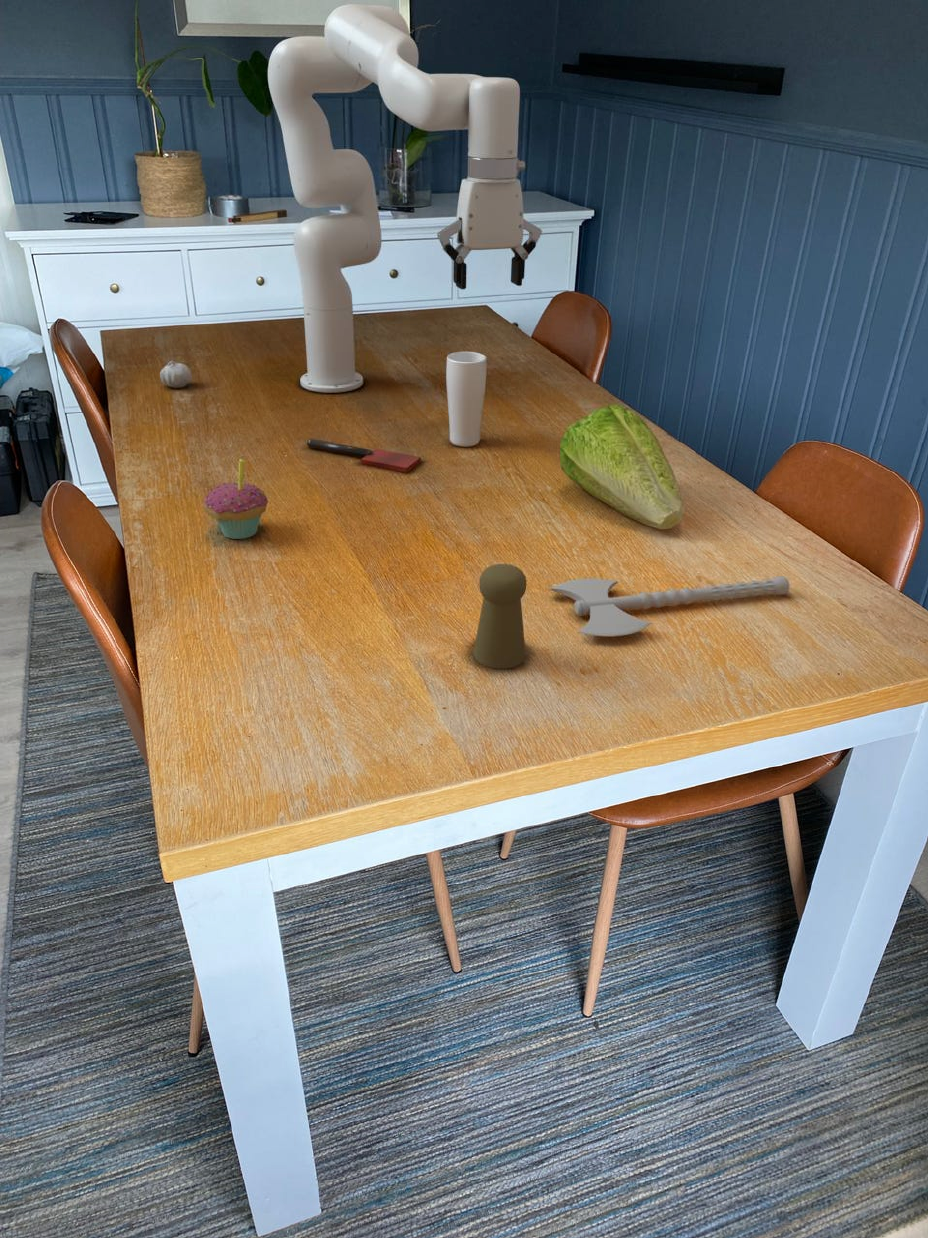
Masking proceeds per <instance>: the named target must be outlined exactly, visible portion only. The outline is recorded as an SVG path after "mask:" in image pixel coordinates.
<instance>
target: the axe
mask: <svg viewBox="0 0 928 1238" xmlns="http://www.w3.org/2000/svg"><path fill="white" fill-rule="evenodd" d="M617 584H619V581H616V580H611V579H606V578H595V577H594V578H591V577H590V578H589V577H588V578H577V579H572V580H571V579H570V580H567V581H563V582H560V583H558V584H556V585H554V586H553V587H551V588H549V590H550V591H552V592H555V593H558V594H561V595H563V596H566V597H568V598H570V599H572V600H574V601H575V602H574V605H573V610H574V611H573V612H574V613H575V615H576V616H577V617H581V616H582V617H584V616H585V615H588V616H589V620H588V622H587V623H586V624H585V625H584V626H583V627H582V628H581V629H580V630H579V631H578V633H579V634H584V635H589V636H595V637H621V636H622V637H623V636H629V635H632V634H635V633H639V632H641V631H643V630H645V629H647V628H648V627H649V626H650V625H651V624H652V623H651V622H648V621H646V620H644V619H641V618H638V617H636V616H633V615H630V614H629V613H627V612H625V611H627V610H628V611H629V610H636V609H637V610H638V609H640V610H648V609H650V608H656V609H660V608H663V607H665V606H669V607H675V606H677V605H681V604H682V605H684V606H685V605H690V604H692V603H697V602H705V601H707V602H708V601H710V602H716V601H718V600H724V601H725V600H731V599H732V598H733V599H735V598H737V599H742V598H745V597H757V596H759V595H760V596H761V595H764V596H768V595H774V596H784V595H786V594H788V593H789V590H790V582H789V579H788V578H787V577H786V576H784V575H780V576H779V575H778V576H774V577H772V578H770V579H763V580H759V581H758V580H751V581H749V582H743V581H739V582H736V583H733V584H732V583H724V584H722V585H716V584H714V585H713V584H712V585H709V586H705V587H696V588H689V587H683V588H681V589H679V590H678V589H674V588H673V589H667V590H666V591H661V590H655V591H653V592H649V593H648V592H639V594H633V595H624V596H615V597H609V593H610V591H611V590H612V589H613V587H615V586H616V585H617Z"/></svg>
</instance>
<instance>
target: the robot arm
mask: <svg viewBox="0 0 928 1238" xmlns="http://www.w3.org/2000/svg"><path fill="white" fill-rule="evenodd" d="M323 28H324V29H323V34H324V36H319V35H316V36H315V35H313V36H312V35H308V36H307V35H303V36H301V35H300V36H294V37H289V38H286V39H283V40H282V41H280V42H279V43H277V44H276V46H275V47H274V48H273V50H272V52H271V54H270V57H269V60H268V66H267V83H268V88H269V93H270V97H271V101H272V103H273V106H274V109H275V111H276V114H277V117H278V121H279V125H280V128H281V132H282V138H283V145H284V150H285V155H286V156H285V157H286V162H287V168H288V172H289V179H290V183H291V184H290V185H291V187H292V193H293V196H294V199H295V200H296V202H297V203H298V204H299V205H300V206H302V207H304V208H307V209H321V208H331V207H340V210H341V213H333V214H324V215H316V216H313V217H309V218H307V219H305V220H303V221H302V222H300V223H299V224H298V225H297V226H296V228H295V230H294V232H293V233H294V234H293V237H292V239H293V240H292V241H293V242H292V243H293V244H292V245H293V250H294V255H295V258H296V259H295V260H296V263H297V267H298V271H299V277H300V284H301V296H302V306H303V307H302V308H303V322H304V336H305V337H304V338H305V339H304V340H305V353H306V354H305V355H306V369H307V373H305V374H303V375H302V376H300V380H299V383H300V384H299V385H300V386H301V388H303V389H306V390H307V391H312V392H316V393H324V394H335V393H337V394H338V393H346V392H350V391H353V390H354V391H355V390H356V389H359V388H360V387H361V386H362V385H364V377H363V375H361V374H360V373H359V372H356V361H355V360H356V359H355V358H356V357H355V334H354V331H355V330H354V309H353V307H354V306H353V305H354V304H353V294H352V290H351V287H350V285H349V283H348V281H347V279H346V278H345V276H344V274H343V272H342V270H343V269H345V268H351V267H356V266H362V265H367V264H370V263H372V262H374V261H375V260H376V259H377V258H378V256H379V254H380V252H381V249H382V240H383V239H382V228H381V221H380V214H379V206H378V198H377V193H376V192H377V191H376V184H375V180H374V175H373V172H372V169H371V166H370V164H369V162H368V161H367V159H366V157H365V156H364V155H362V154H361V153H360V152H359V151H357V150H354V149H351V148H342V149H341V148H338V149H335V148H334V146H333V143H332V137H331V130H330V124H329V121H328V118H327V117H326V115H325V113H324V111H323V109H322V108H321V106H320V105H319V103H318V102H317V101H316V100H315V99H314V98H313V95H314V94H342V93H343V94H345V93H347V94H348V93H349V94H350V93H356V92H358V91H361V90H363V89H365V88H367V87H369V85H371V84H372V83H374V84H375V85H377V86H378V90H379V94H380V97H381V98H382V101H383V102H384V105H385V107H386V108H387V109H388V110H389V112H392V113H393V114H394V115H396V116H397V117H398V118H400V119H402V121H405V122H406V123H408V124H409V125H410V126H413V127H415V128H417V129H418V130H422V131H427V132H439V131H440V132H441V131H460V130H462V131H464V130H468V131H467V178H463V179H461V183H460V189H459V193H458V200H457V209H456V221H454V222H452V223H451V224H449V225H448V226H446V227H444V228H443V229H441V230H440V231H438V232H437V234H436V237H437V239H438V241H439V243H440V245H441V247H442V250H443V251H444V252H445V253H446V254H447V256H448V257H449V258H450V260H452V264H453V265H452V266H453V267H452V268H453V270H452V272H453V273H452V280H453V283H454V284H455V287H457V288H458V289H460V290H466V289H467V271H468V270H467V268H468V267H467V263H465V260H466V258H467V257H468V256H469V254H470V252H471V251H487V250H506V249H508V250H509V249H510V250H511V252H512V253H513V254H514V256H512V257H511V263H510V264H511V265H510V282H511V283H512V284H514V285H515V286H517V287H521V286H523V280H524V279H525V269H526V267H525V266H526V260H527V259H529V255H531V253H532V252H533V251H534V250H535V248H536V247H537V243H538V242H539V240H540V237H541V235H542V234H543V230H542V228H539V226H537V225H535V224H533V223H531V222H529V221H527V220H526V219H524V201H523V193H522V192H523V191H522V185H521V180H520V179H518V178H517V177H518V176H519V173H520V172H523V171H525V169H526V162H525V161H524V160H520V159H519V157H518V149H519V148H518V147H519V124H520V122H519V121H520V101H521V90H520V89H521V87H520V85H519V83H518V81H517V80H516V79H514V78H511V77H501V76H499V77H498V76H482V75H478V74H473V73H427V72H424V71H422V70H420V69H419V68H418V66H419V60H420V59H419V49H418V46H417V43H416V41H415V40H414V39H413V38H412V37H411V36H410V29H409V26H408V24H407V21H406V19H405V18H404V17H403V15H402V14H401V13H400V12H399V11H398V10H397V9H395V8H393V7H391V6H387V5H379V4H377V5H376V4H358V3H348V4H343V5H340V6H338V7H336V8H335V9H333V11H332V12H331V13H329V15H328V16H327V18H326V20H325V23H324V27H323ZM524 230H525V231H526V232H528V233H529V235H528V237H527V239H526V241H525V242H524V243H523V240H524ZM454 235H455V242H456V243H457V245H456V247H454V246H453V245H452V243H451V240H450V238H452V237H453V236H454Z"/></svg>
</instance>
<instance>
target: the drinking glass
mask: <svg viewBox="0 0 928 1238" xmlns="http://www.w3.org/2000/svg"><path fill="white" fill-rule="evenodd" d="M445 365H446V366H445V367H446V368H445V384H446V397H447V398H446V399H447V413H448V427H449V429H448V430H449V434H448V435H449V438H448V439H449V442H450V443H451V444H452V445H453V446H457V447H460V448H461V447H462V448H469V447H474V446H476V445H478V444H479V443H480V441H481V428H482V420H483V412H484V411H483V410H484V402H485V394H486V386H487V357H486V355H484V353H483V354H482V353H479V352H476V351H457V352H451V353H449V354H448V355H447V356H446V364H445Z"/></svg>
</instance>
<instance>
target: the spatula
mask: <svg viewBox="0 0 928 1238" xmlns="http://www.w3.org/2000/svg"><path fill="white" fill-rule="evenodd" d="M306 445H307V447H308V448H310V449H313V450H317V451H318V450H319V451H324V452H329V453H334V454H340V455H345V456H350V457H354V458H355V457H356V458H359V459H360V458H361V460H360V462H361V465H365V466H369V467H376V468H379V469H380V468H381V469H385V470H391V471H395V472H399V473H400V472H401V473H406V474H407V473H409V472H410V471H412V470H413V469H414V468H415V467H416V466H418V465H419V464H420V463H421V462H422V457H421V456H416V455H411V454H408V453H407V454H406V453H401V452H395V451H392V450H391V451H390V450H385V449H380V448H376V449H374V450H372V449H369V448H363V447H358V446H353V445H348V444H342V443H338V442H333V441H326V440H321V439H317V438H309V439H308V440H307V442H306Z"/></svg>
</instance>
